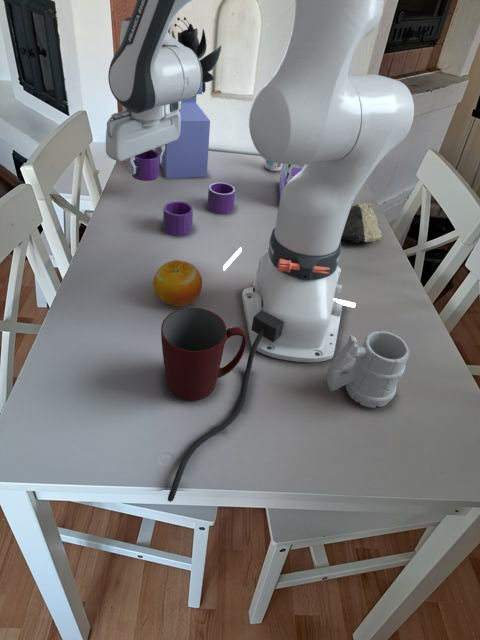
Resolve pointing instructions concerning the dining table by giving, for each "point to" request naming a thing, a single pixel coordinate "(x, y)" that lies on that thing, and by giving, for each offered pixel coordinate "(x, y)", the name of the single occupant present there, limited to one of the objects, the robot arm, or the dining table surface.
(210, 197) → the purple short cylinder
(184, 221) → the dish
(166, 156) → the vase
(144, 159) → the purple cup
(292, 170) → the candy box
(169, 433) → the dining table surface
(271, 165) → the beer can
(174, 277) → the fruit
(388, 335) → the mug
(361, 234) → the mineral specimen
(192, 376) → the mug
